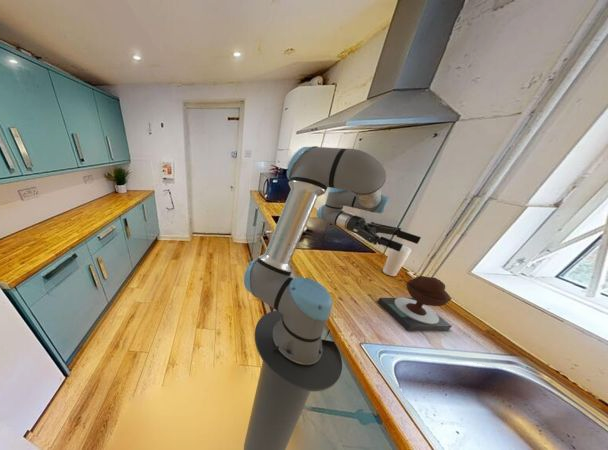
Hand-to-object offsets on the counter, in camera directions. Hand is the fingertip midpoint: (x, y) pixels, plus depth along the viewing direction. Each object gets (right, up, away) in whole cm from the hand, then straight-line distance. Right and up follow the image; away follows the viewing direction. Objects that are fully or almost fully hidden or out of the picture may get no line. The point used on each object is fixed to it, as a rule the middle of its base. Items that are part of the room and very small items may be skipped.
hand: (410, 244), depth 72 cm
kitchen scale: (+3, -27, +3) cm, 28 cm away
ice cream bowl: (+4, -25, +2) cm, 25 cm away
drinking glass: (+16, -17, +26) cm, 35 cm away
